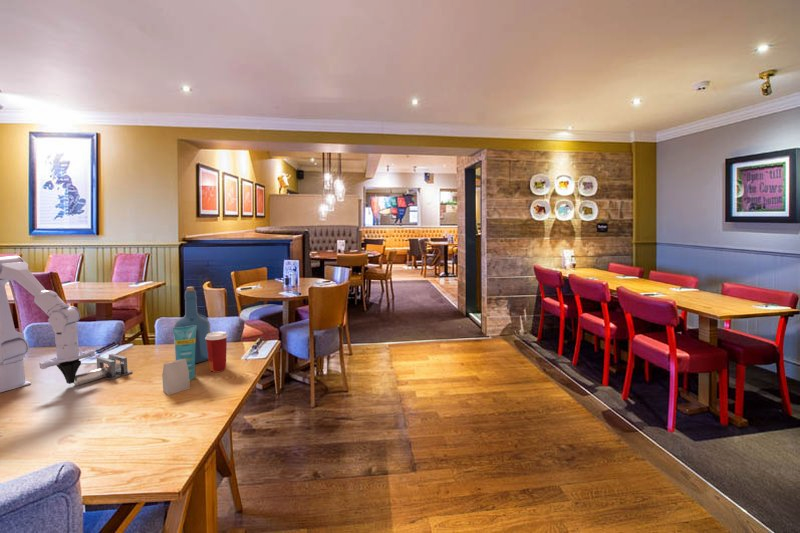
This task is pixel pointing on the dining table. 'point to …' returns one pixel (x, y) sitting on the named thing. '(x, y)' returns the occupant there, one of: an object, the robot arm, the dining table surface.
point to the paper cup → (216, 350)
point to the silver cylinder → (94, 375)
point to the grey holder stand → (110, 367)
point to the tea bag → (175, 376)
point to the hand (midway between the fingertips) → (70, 382)
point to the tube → (186, 346)
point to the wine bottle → (195, 319)
